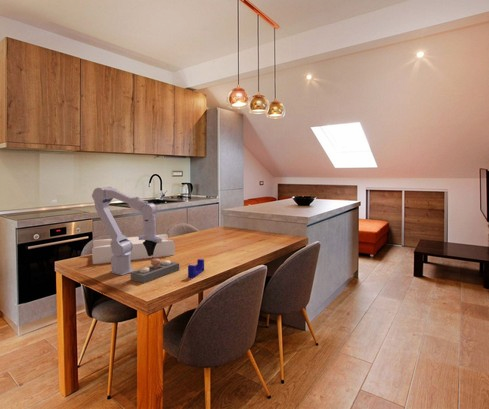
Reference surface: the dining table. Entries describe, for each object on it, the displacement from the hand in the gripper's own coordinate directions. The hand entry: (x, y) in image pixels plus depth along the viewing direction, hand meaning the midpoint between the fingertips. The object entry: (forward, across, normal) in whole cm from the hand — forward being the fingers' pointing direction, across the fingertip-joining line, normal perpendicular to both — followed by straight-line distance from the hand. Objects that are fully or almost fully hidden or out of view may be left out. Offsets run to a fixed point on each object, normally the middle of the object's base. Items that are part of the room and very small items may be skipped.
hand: (150, 255), depth 155 cm
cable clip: (+10, +18, +12) cm, 24 cm away
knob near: (+9, +3, -6) cm, 12 cm away
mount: (+9, +3, +1) cm, 10 cm away
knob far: (+9, +2, +8) cm, 12 cm away
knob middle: (+7, +3, +1) cm, 7 cm away
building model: (+10, -38, +19) cm, 43 cm away
